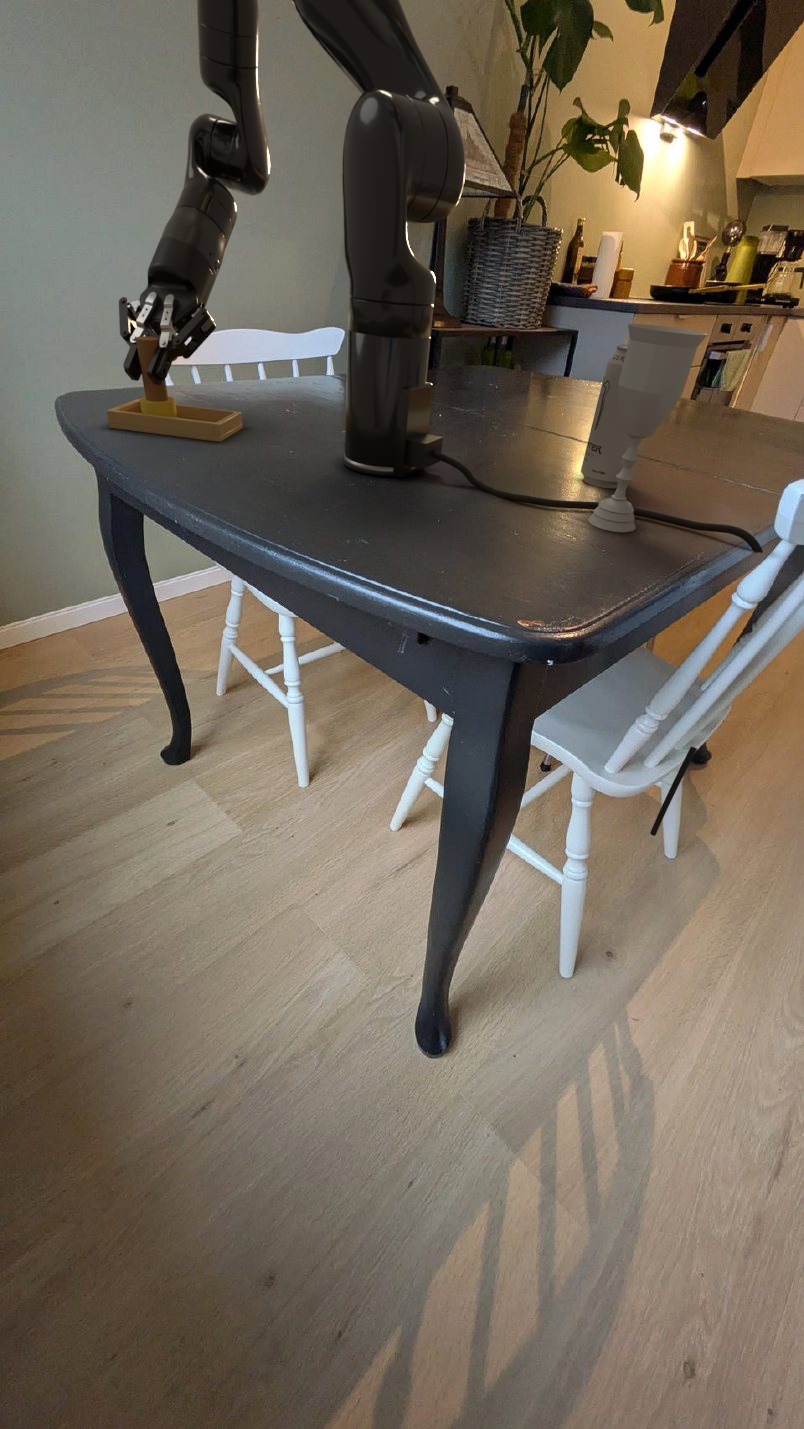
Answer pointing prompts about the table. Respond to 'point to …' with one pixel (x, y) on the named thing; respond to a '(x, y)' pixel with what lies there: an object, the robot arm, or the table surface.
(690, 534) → the table surface
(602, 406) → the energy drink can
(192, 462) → the table surface
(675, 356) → the chalice
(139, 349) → the peg on yellow base
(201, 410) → the tray
